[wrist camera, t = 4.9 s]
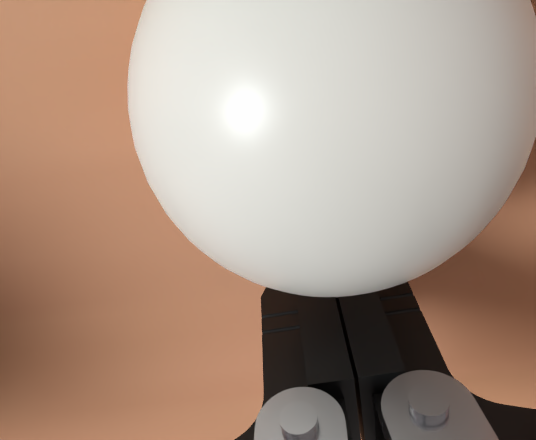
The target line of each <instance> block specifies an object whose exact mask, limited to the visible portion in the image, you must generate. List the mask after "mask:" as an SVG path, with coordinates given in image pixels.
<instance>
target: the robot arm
mask: <svg viewBox="0 0 536 440" xmlns="http://www.w3.org/2000/svg"><path fill="white" fill-rule="evenodd" d="M261 312H262V334H263V335H262V346H263V380H264V401H263V405H262V408H261V410H260V412H259V414H258V416H257V419H256V420H255V422H254V423H253V424H252V425H251V427H250V428H249V429H248V430H247V431H246V432H245V433H243V434H242V435H241V436H239V437H238V438H237V439H235V440H361V439H362V440H536V409H530V408H523V407H516V406H509V405H503V404H498V403H494V402H491V401H488V400H485V399H483V398H480V397H478V396H476V395H474V394H473V393H471V392H470V391H469V390H468V389H467V388H466V387H465V386H464V385H463V384H461V383H460V382H459V381H458V380H456V379H454V377H453V376H452V375H451V373H450V372H449V370H448V368H447V366H446V364H445V362H444V360H443V357H442V355H441V353H440V351H439V349H438V346H437V344H436V342H435V340H434V338H433V336H432V333H431V331H430V329H429V327H428V325H427V323H426V320H425V318H424V316H423V314H422V312H421V311H420V308H419V305H418V303H417V301H416V299H415V297H414V296H413V292H412V290H411V288H410V286H409V284H408V282H405V283H403V284H400V285H397V286H394V287H391V288H387V289H384V290H380V291H376V292H371V293H367V294H360V295H354V296H344V297H311V296H302V295H297V294H291V293H287V292H283V291H278V290H275V289H271V288H267V287H266V289H265V291H264V293H263V294H262V296H261ZM360 434H361V436H360Z"/></svg>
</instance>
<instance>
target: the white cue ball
mask: <svg viewBox="0 0 536 440" xmlns="http://www.w3.org/2000/svg"><path fill="white" fill-rule="evenodd" d="M128 112H129V118H130V124H131V130H132V135H133V140H134V146H135V149H136V152H137V155H138V157H139V160H140V163H141V166H142V168H143V171H144V173H145V176H146V179H147V181H148V184H149V185H150V187H151V189H152V190H153V192H154V194H155V196H156V197H157V199H158V201H159V202H160V204H161V206H162V207H163V209H164V211H165V212H166V214H167V215H168V216H169V218H170V219H171V220H172V221H173V222H174V224H175V225H176V226H177V227H178V228H179V229H180V231H181V232H182V233H183V234H184V235H185V236H186V237H187V238H188V240H189V241H190V242H192V243H193V244H194V245H195V246H196V247H197V248H198V249H200V250H201V251H202V252H203V253H205V254H206V255H207V256H208V257H210V258H211V259H212V260H214V261H215V262H217V263H218V264H220V265H221V266H222V267H224V268H225V269H227V270H229V271H231V272H233V273H235V274H237V275H239V276H241V277H243V278H245V279H247V280H249V281H251V282H253V283H256V284H259V285H261V286H264V287H267V288H271V289H275V290H278V291H283V292H287V293H291V294H297V295H302V296H311V297H344V296H354V295H360V294H367V293H371V292H376V291H380V290H384V289H387V288H391V287H394V286H397V285H400V284H403V283H405V282H408V281H410V280H413V279H415V278H417V277H419V276H421V275H423V274H425V273H427V272H429V271H431V270H433V269H434V268H436V267H438V266H439V265H441V264H442V263H444V262H445V261H446V260H448V259H449V258H451V257H452V256H453V255H455V254H456V253H458V252H459V251H460V250H462V249H463V248H464V247H465V246H467V245H468V244H469V243H470V242H471V241H472V240H474V239H475V238H476V236H477V235H478V234H479V233H480V232H481V231H482V230H483V229H484V228H485V227H486V226H487V225H488V223H489V222H490V221H491V220H492V219H493V218H494V217H495V215H496V214H497V213H498V212H499V210H500V209H501V208H502V206H503V205H504V204H505V202H506V201H507V199H508V197H509V195H510V194H511V192H512V190H513V188H514V187H515V185H516V183H517V181H518V180H519V178H520V176H521V174H522V172H523V171H524V169H525V166H526V164H527V161H528V158H529V155H530V153H531V150H532V147H533V144H534V141H535V138H536V15H535V12H534V9H533V6H532V3H531V0H147V1H146V3H145V5H144V7H143V10H142V14H141V17H140V20H139V23H138V26H137V30H136V33H135V36H134V40H133V43H132V48H131V55H130V62H129V69H128Z"/></svg>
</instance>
